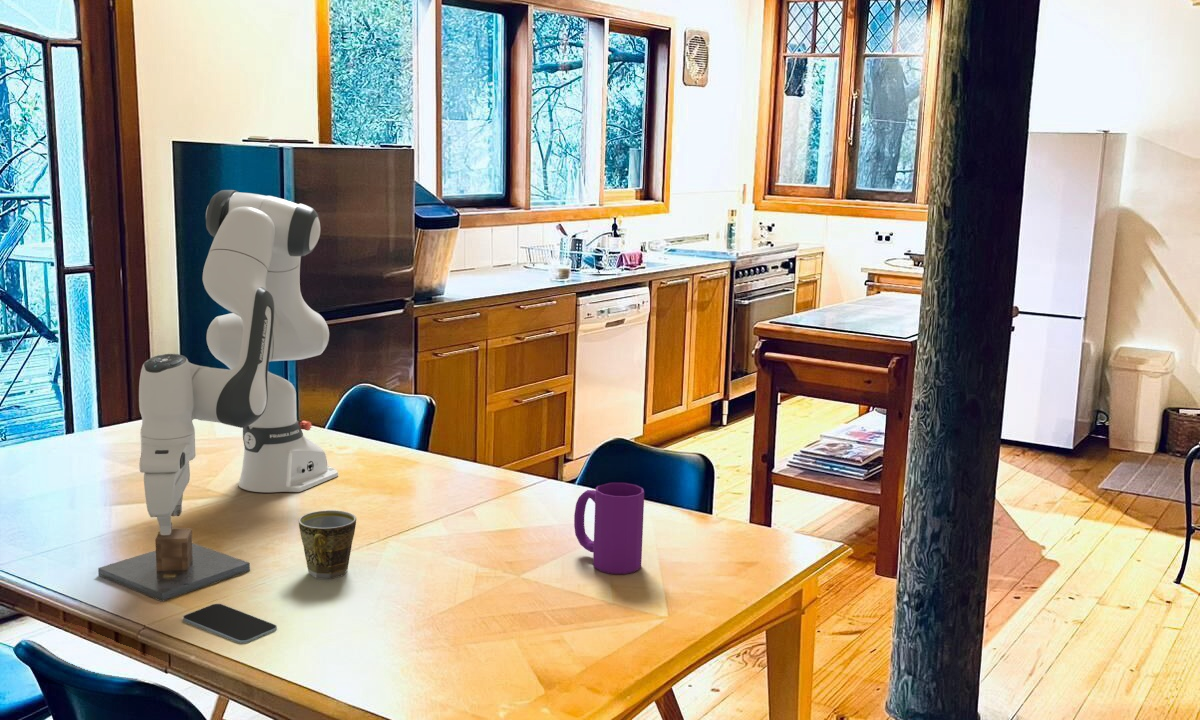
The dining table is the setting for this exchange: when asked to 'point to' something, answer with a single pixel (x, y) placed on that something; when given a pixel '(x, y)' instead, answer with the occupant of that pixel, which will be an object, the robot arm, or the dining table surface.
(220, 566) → the plate
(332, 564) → the ceramic cup
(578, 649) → the dining table surface
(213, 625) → the smartphone
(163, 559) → the taped cardboard carton
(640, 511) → the mug
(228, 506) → the dining table surface
